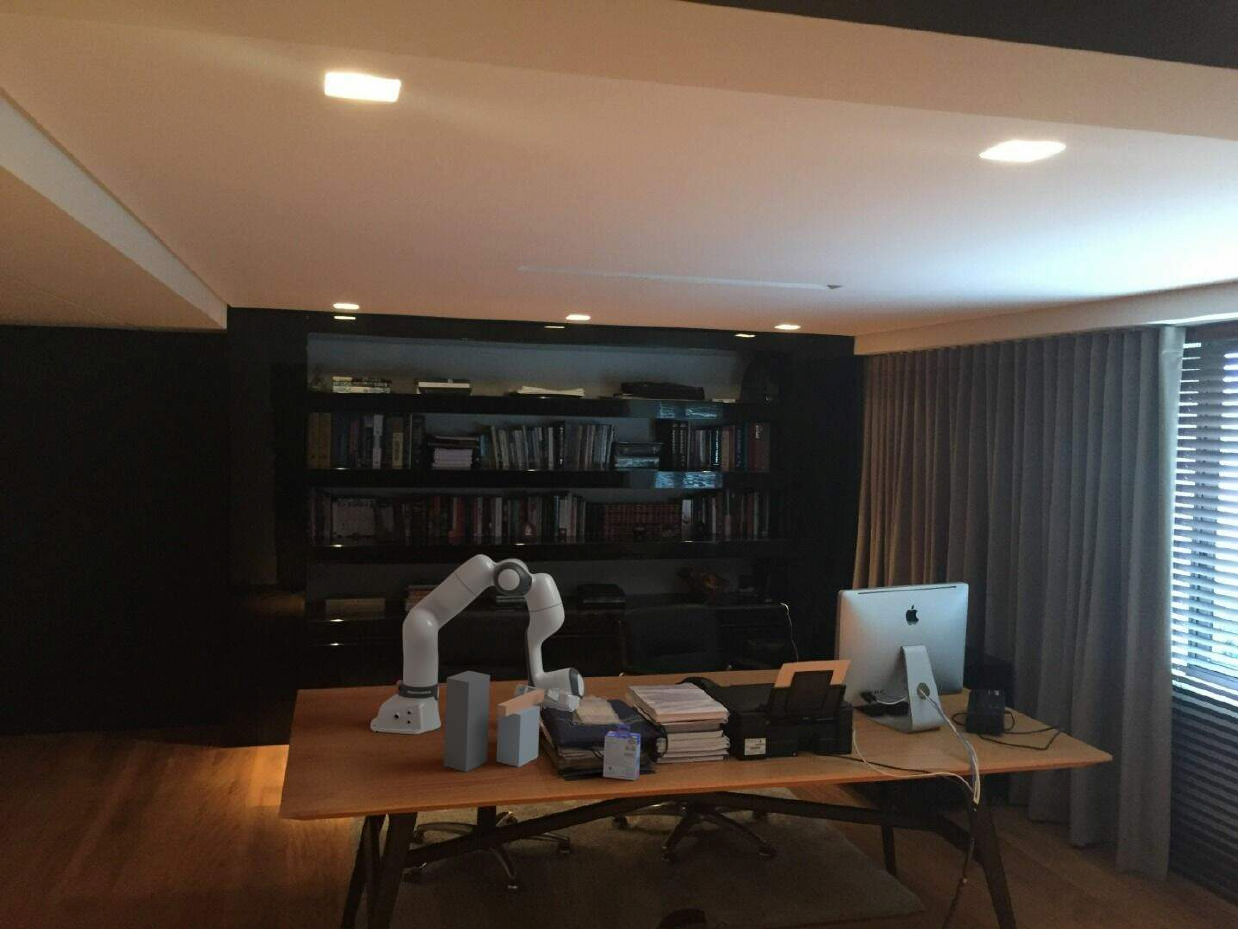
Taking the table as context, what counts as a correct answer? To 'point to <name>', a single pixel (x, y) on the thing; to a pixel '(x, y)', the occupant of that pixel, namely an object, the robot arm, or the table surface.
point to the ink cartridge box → (621, 754)
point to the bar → (520, 702)
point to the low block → (518, 737)
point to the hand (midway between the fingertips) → (533, 689)
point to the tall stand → (466, 720)
